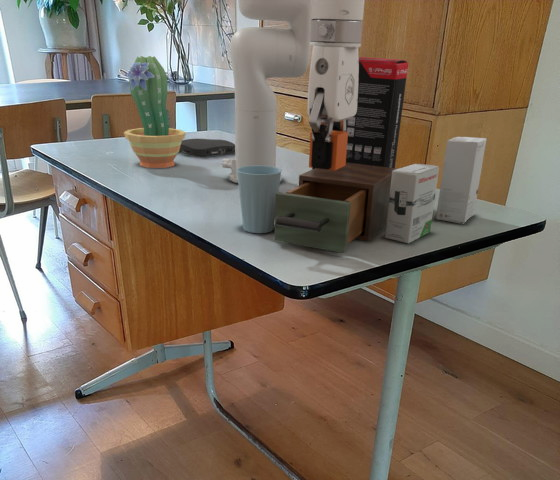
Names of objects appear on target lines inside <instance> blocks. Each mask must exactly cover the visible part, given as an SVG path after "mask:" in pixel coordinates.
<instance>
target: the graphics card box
mask: <svg viewBox="0 0 560 480" xmlns="http://www.w3.org/2000/svg"><path fill="white" fill-rule="evenodd" d="M408 70H409V62H408V61H407V60H404V59H397V58H396V59H395V58H383V57H382V58H380V57H366V56H365V57H364V56H359V79H358V102H357V113H356V114H355V116H353V117H352V118H349V119H347V124H346V132H348V140H347V153H346V163H354V164H363V165H371V166H380V167H388V168H396V161H397V154H398V148H399V147H398V146H399V137H400V131H401V123H402V115H403V108H404V100H405V93H406V85H407V78H408V72H409V71H408ZM321 119H327V117H323V118H321ZM327 120H328V119H327ZM334 122H335V121H334ZM334 122H333V125H334ZM322 125H324V126H325V129H327V125H325V124H322ZM312 169H315V168H311V170H312Z"/></svg>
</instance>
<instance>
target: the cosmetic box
mask: <svg viewBox="0 0 560 480" xmlns="http://www.w3.org/2000/svg"><path fill="white" fill-rule="evenodd" d="M487 141H488V140H487V137H486V138H485V137H471V136H455V137H452V138H450V139H448V140H447V141H446V144H445V145H446V146H445V153H444V160H443V167H442V173H441V174H442V175H441V180H440V187H439V193H438V194H439V195H438V202H437V209H436V214H435V215H436V216H435V219H436V220H439V221H447V222H451V223H456V224H461V225H464V224H466V222H467V221H468V220H469V219H471V218H472V217H474V214H475V210H476V204H477V199H478V193H479V186H480V182H481V175H482V169H483V163H484V155H485V151H486V146H487V145H486V144H487Z"/></svg>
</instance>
